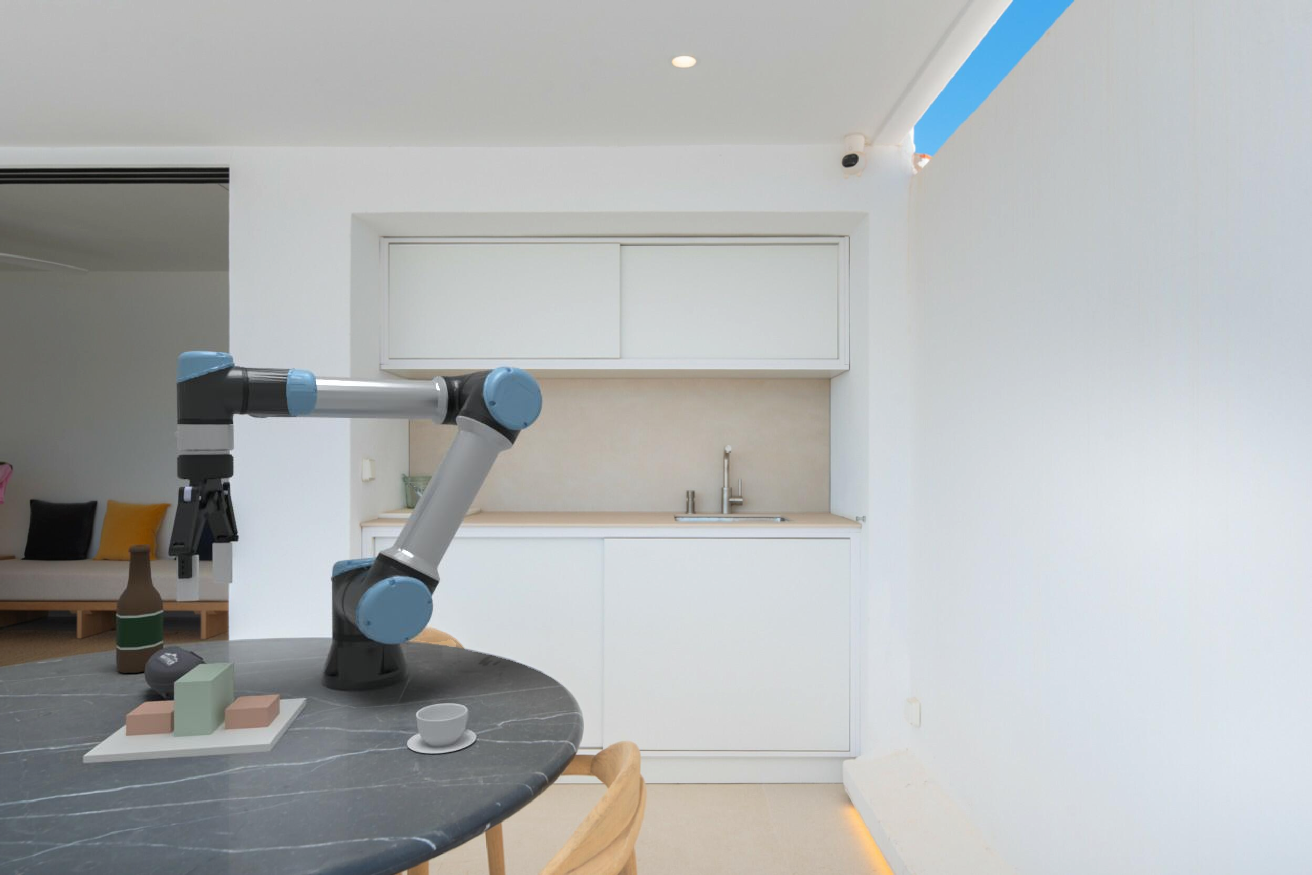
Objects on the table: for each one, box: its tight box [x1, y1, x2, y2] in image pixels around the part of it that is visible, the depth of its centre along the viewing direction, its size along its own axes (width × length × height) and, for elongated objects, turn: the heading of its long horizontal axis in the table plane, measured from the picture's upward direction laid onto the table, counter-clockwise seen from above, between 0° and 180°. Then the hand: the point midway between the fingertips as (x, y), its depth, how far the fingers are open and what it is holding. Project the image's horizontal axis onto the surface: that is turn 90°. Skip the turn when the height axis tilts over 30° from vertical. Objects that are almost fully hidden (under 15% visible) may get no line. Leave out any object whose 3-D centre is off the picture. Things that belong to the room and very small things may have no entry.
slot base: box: [82, 693, 307, 764], centre depth 120 cm, size 24×20×4 cm
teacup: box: [406, 702, 477, 754], centre depth 116 cm, size 10×10×5 cm
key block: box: [174, 661, 235, 737], centre depth 120 cm, size 10×5×8 cm, turn 10°
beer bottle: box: [115, 544, 164, 674], centre depth 153 cm, size 8×8×24 cm
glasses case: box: [143, 645, 208, 701], centre depth 136 cm, size 18×10×8 cm, turn 47°
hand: (206, 591), depth 120 cm, fingers open, 13 cm apart
